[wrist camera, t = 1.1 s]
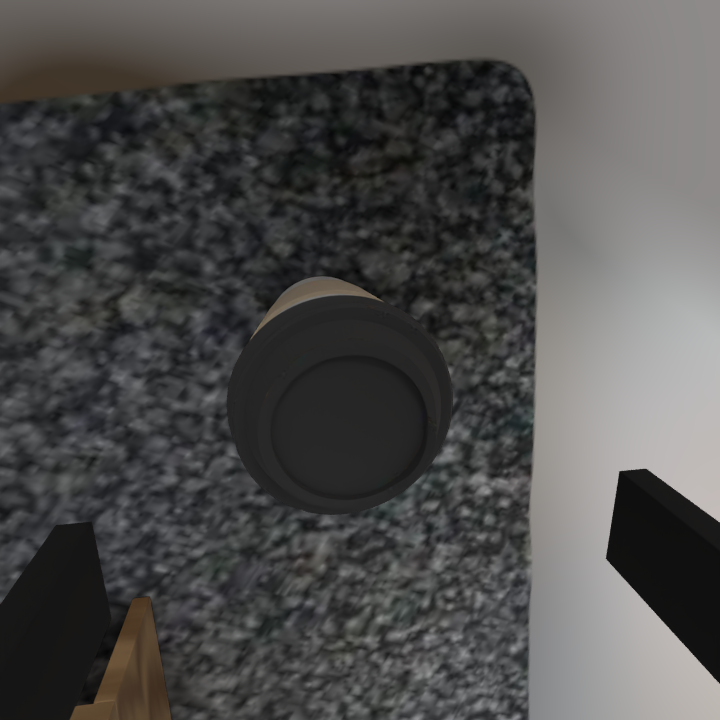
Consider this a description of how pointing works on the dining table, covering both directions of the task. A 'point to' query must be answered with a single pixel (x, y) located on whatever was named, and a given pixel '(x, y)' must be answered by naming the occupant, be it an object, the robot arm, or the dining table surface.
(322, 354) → the coffee cup
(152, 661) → the board
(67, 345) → the dining table surface
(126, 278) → the dining table surface
